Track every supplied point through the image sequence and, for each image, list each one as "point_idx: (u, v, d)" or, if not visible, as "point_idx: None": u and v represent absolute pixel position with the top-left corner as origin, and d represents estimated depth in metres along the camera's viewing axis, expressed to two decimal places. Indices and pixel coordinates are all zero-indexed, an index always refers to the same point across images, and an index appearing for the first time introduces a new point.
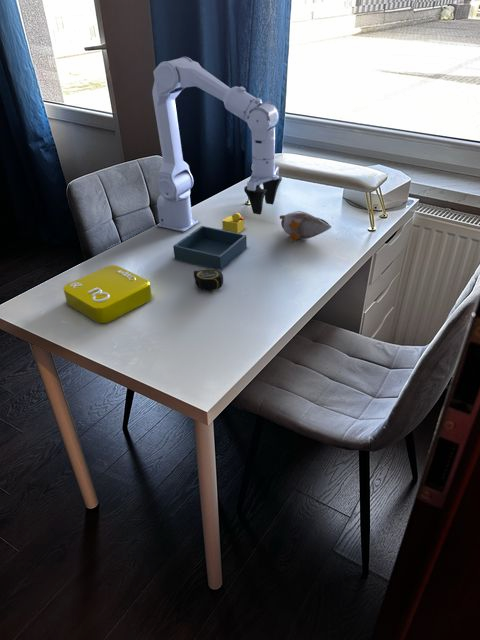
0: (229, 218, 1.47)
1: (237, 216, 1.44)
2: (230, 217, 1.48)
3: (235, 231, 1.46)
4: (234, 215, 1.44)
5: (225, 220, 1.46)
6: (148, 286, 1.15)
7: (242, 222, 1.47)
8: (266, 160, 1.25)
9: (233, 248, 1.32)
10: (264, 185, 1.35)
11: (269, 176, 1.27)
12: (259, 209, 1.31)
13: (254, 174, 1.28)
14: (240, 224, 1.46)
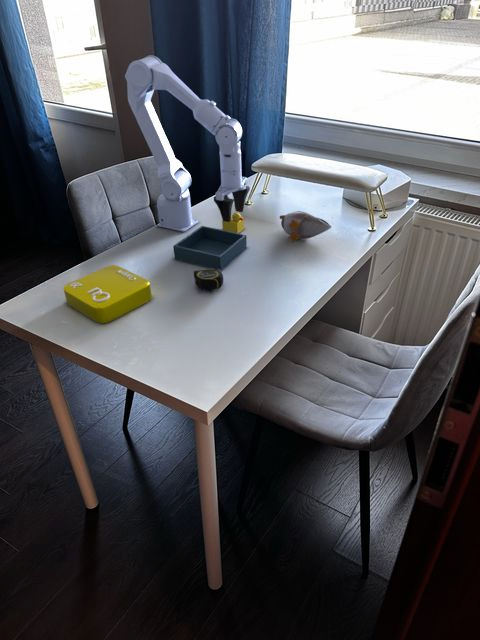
0: None
1: (237, 216, 1.44)
2: None
3: (235, 231, 1.46)
4: (234, 215, 1.44)
5: None
6: (148, 286, 1.15)
7: (242, 222, 1.47)
8: (233, 172, 1.35)
9: (233, 248, 1.32)
10: (233, 194, 1.46)
11: (236, 187, 1.38)
12: (228, 217, 1.41)
13: (223, 185, 1.39)
14: (240, 224, 1.46)
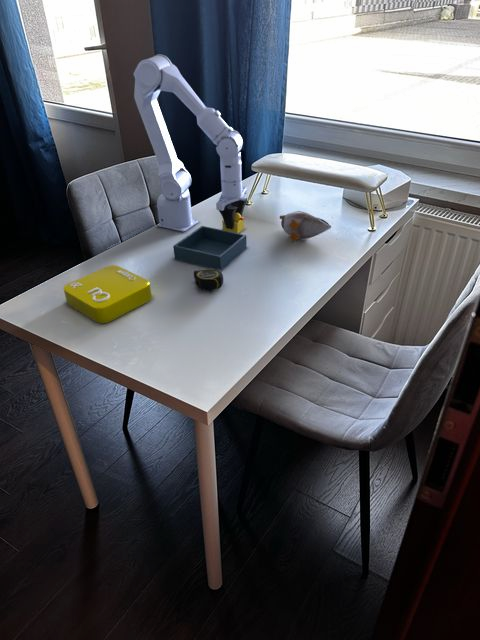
0: None
1: (237, 216, 1.44)
2: None
3: (235, 231, 1.46)
4: None
5: None
6: (148, 286, 1.15)
7: (242, 222, 1.47)
8: (233, 182, 1.37)
9: (233, 248, 1.32)
10: (231, 206, 1.47)
11: (237, 197, 1.40)
12: (231, 224, 1.44)
13: (223, 195, 1.40)
14: (240, 224, 1.46)
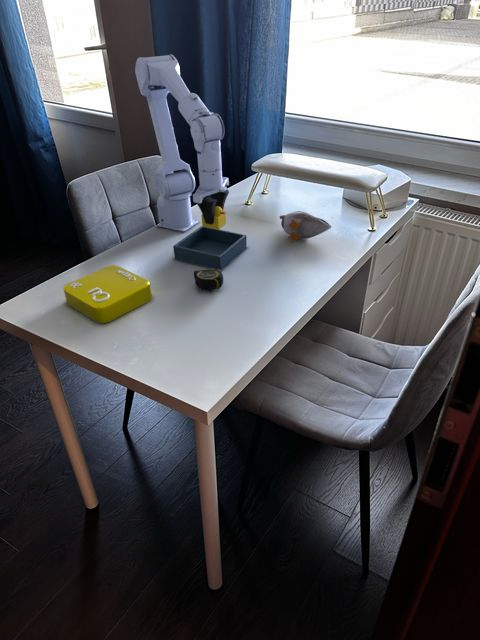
0: None
1: (218, 210, 1.30)
2: None
3: (216, 226, 1.32)
4: (214, 209, 1.30)
5: None
6: (148, 286, 1.15)
7: (224, 216, 1.32)
8: (212, 172, 1.23)
9: (233, 248, 1.32)
10: (211, 198, 1.32)
11: (216, 188, 1.25)
12: (211, 219, 1.30)
13: (201, 186, 1.26)
14: (221, 219, 1.32)
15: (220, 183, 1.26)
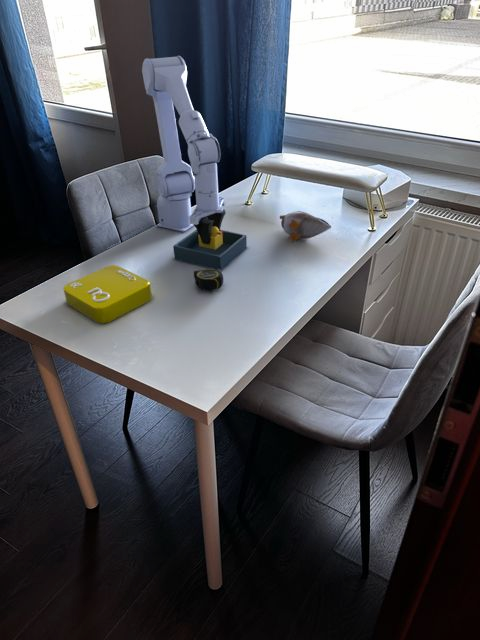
0: None
1: (214, 230, 1.31)
2: None
3: (212, 246, 1.32)
4: (211, 229, 1.31)
5: None
6: (148, 286, 1.15)
7: (220, 236, 1.33)
8: (208, 194, 1.23)
9: (233, 248, 1.32)
10: (208, 218, 1.33)
11: (213, 209, 1.26)
12: (207, 239, 1.31)
13: (198, 207, 1.27)
14: (218, 239, 1.32)
15: (217, 204, 1.26)
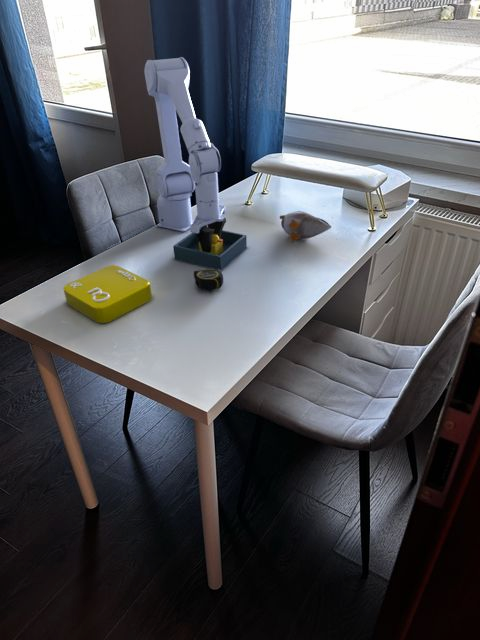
0: None
1: (215, 238, 1.32)
2: None
3: None
4: (212, 237, 1.32)
5: None
6: (148, 286, 1.15)
7: (221, 244, 1.34)
8: (209, 203, 1.25)
9: (233, 248, 1.32)
10: (209, 226, 1.34)
11: (213, 218, 1.28)
12: (208, 247, 1.32)
13: (199, 216, 1.28)
14: (218, 246, 1.34)
15: (217, 213, 1.28)
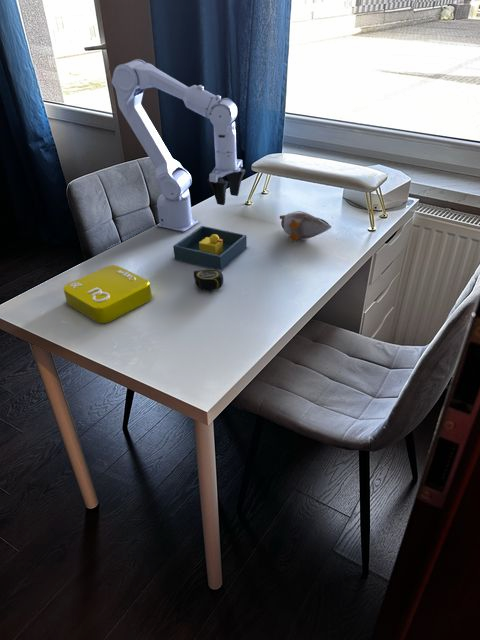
0: (206, 240, 1.35)
1: (215, 238, 1.32)
2: (208, 238, 1.35)
3: None
4: (212, 237, 1.32)
5: (202, 242, 1.34)
6: (148, 286, 1.15)
7: (221, 244, 1.34)
8: (227, 153, 1.32)
9: (233, 248, 1.32)
10: (229, 177, 1.43)
11: (231, 169, 1.35)
12: (222, 200, 1.38)
13: (217, 167, 1.35)
14: (218, 246, 1.34)
15: (234, 164, 1.35)
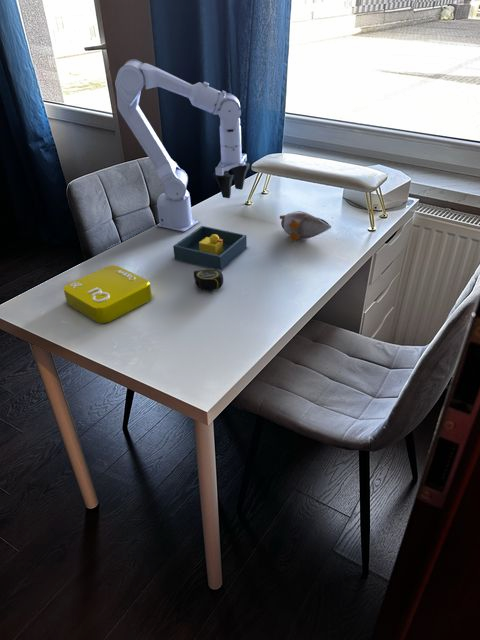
0: (206, 240, 1.35)
1: (215, 238, 1.32)
2: (208, 238, 1.35)
3: None
4: (212, 237, 1.32)
5: (202, 242, 1.34)
6: (148, 286, 1.15)
7: (221, 244, 1.34)
8: (233, 147, 1.36)
9: (233, 248, 1.32)
10: (233, 171, 1.46)
11: (236, 162, 1.38)
12: (228, 193, 1.42)
13: (222, 160, 1.39)
14: (218, 246, 1.34)
15: (240, 158, 1.39)
